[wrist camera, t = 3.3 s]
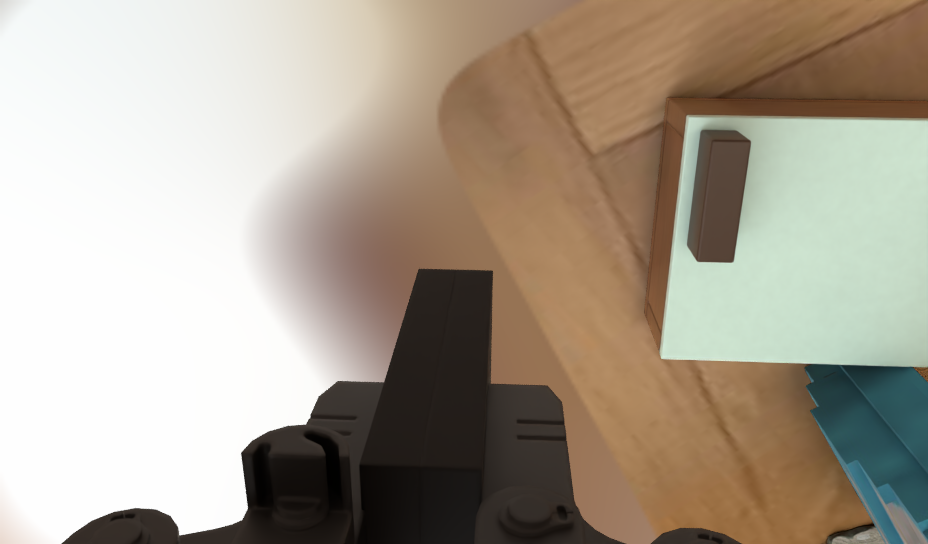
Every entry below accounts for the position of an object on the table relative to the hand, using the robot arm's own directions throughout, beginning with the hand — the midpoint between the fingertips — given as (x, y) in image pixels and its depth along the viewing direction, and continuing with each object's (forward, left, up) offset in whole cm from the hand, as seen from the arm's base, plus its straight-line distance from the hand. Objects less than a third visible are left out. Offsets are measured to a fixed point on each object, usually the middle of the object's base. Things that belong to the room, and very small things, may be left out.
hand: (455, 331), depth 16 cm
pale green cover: (+2, +12, -11) cm, 17 cm away
